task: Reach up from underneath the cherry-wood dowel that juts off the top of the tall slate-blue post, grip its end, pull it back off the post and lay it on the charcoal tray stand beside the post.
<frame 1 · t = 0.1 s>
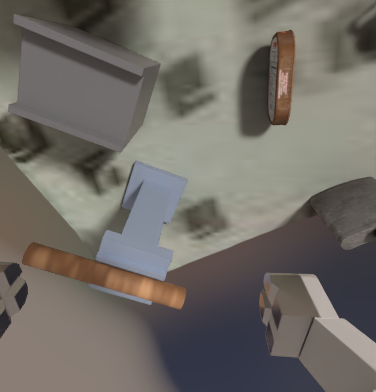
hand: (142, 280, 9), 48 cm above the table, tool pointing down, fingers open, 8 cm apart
flask: (340, 189, 60), on the table
tray stand: (111, 79, 50), on the table
dowel: (108, 276, 37), point 27 cm above the table, touching shelf post
tin: (273, 79, 50), on the table
shelf post: (154, 192, 62), on the table
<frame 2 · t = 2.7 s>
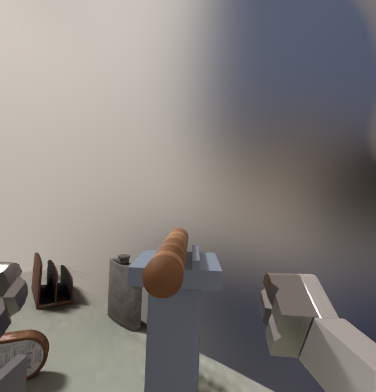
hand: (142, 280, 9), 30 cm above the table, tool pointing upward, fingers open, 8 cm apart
flask: (121, 322, 72), on the table
dowel: (173, 250, 30), point 27 cm above the table, tilted 15°, touching shelf post
letter holder: (50, 297, 88), on the table
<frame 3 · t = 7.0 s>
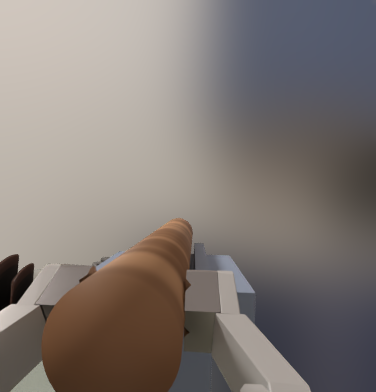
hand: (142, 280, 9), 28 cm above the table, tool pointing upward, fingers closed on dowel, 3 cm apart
dowel: (166, 252, 17), point 27 cm above the table, touching gripper, shelf post
letter holder: (21, 308, 74), on the table
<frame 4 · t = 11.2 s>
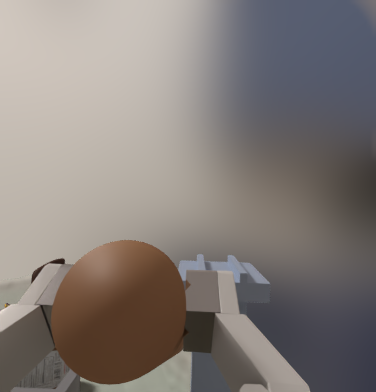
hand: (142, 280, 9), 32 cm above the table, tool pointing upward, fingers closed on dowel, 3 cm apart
dowel: (161, 330, 16), point 27 cm above the table, tilted 28°, touching gripper
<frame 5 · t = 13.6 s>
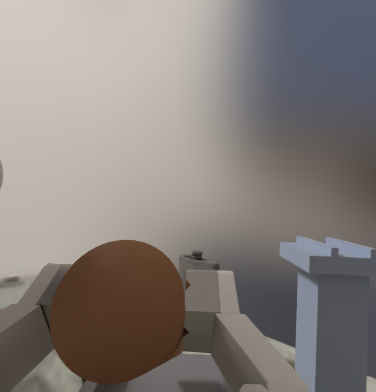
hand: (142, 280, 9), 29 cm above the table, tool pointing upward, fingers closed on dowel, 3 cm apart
flask: (195, 316, 74), on the table
dowel: (160, 332, 15), point 24 cm above the table, tilted 29°, touching gripper
when the fingers open (20 cm above the table, at t = 15.7 s): dowel drops 1 cm, resting on tray stand.
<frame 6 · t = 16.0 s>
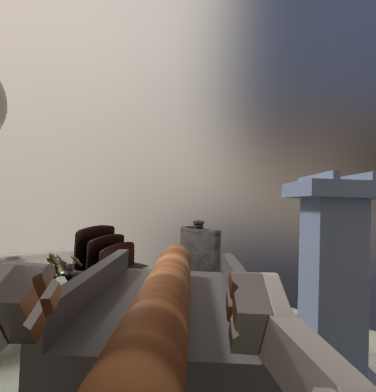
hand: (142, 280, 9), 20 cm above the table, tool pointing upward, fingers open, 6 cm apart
flask: (196, 285, 74), on the table
dowel: (163, 299, 15), point 17 cm above the table, touching tray stand
shelf post: (328, 383, 34), on the table
letter holder: (106, 269, 88), on the table
passion flower: (55, 294, 63), on the table
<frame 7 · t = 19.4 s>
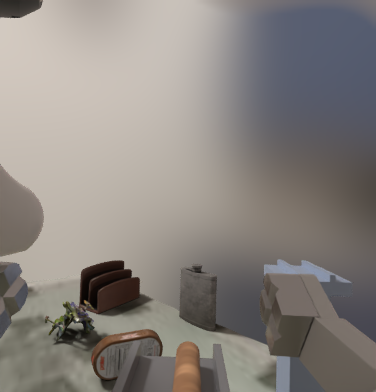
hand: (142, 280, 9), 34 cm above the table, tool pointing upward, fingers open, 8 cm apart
flask: (195, 323, 82), on the table
tin: (128, 374, 57), on the table
letter holder: (111, 303, 97), on the table
passion flower: (70, 337, 72), on the table
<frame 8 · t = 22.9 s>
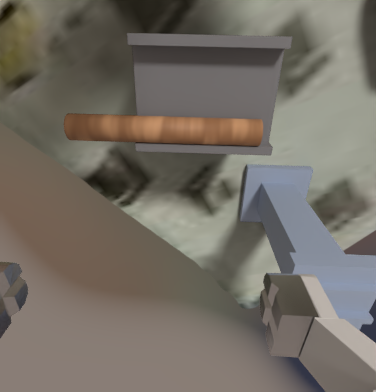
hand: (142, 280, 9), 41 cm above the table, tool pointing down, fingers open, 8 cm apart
tray stand: (203, 83, 44), on the table
dowel: (164, 129, 31), point 17 cm above the table, tilted 131°, touching tray stand
shelf post: (272, 193, 53), on the table
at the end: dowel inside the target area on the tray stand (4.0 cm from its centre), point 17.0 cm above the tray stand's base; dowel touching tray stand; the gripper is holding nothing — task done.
